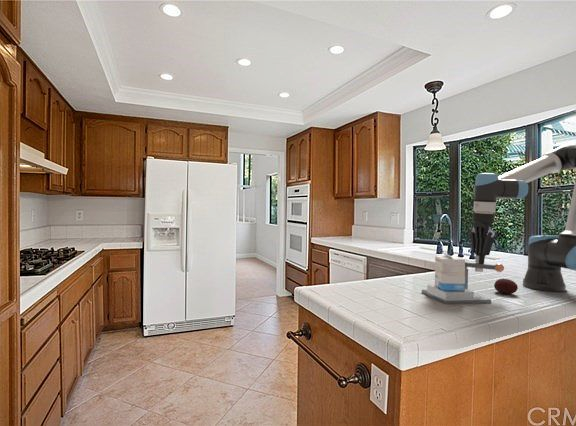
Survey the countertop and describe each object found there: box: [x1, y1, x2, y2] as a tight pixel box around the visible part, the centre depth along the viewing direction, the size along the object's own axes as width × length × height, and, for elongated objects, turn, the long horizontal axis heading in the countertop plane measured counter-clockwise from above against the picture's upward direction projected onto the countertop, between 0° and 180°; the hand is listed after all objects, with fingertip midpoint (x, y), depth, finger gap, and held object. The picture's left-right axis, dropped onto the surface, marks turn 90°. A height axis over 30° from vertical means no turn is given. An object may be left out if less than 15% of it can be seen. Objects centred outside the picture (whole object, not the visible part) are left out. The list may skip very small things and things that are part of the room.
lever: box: [465, 261, 505, 273], centre depth 130 cm, size 16×4×3 cm, turn 55°
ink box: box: [434, 251, 466, 291], centre depth 126 cm, size 9×8×13 cm
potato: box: [493, 278, 519, 295], centre depth 136 cm, size 7×8×6 cm
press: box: [421, 267, 492, 305], centre depth 128 cm, size 18×16×10 cm
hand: (479, 271), depth 133 cm, fingers closed
